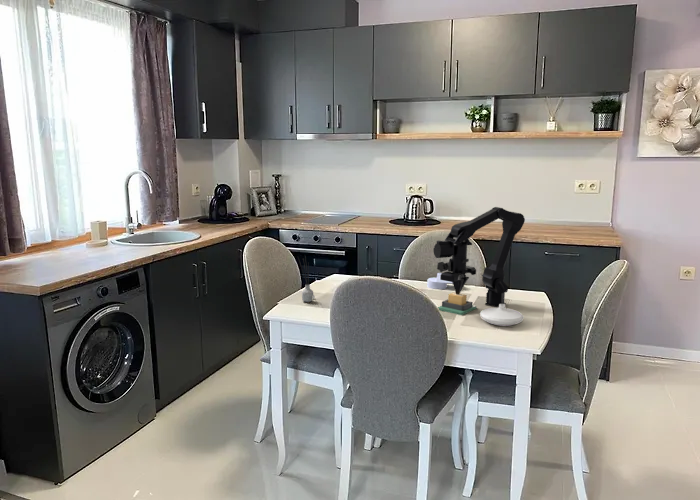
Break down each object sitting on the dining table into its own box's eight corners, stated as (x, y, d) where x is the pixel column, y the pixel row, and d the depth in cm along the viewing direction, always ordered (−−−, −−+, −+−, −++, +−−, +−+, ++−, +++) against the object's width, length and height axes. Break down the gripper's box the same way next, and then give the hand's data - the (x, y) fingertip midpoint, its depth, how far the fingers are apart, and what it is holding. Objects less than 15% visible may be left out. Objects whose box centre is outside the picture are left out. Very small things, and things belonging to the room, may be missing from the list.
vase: (481, 328, 201) (482, 309, 199) (477, 315, 216) (478, 297, 215) (526, 330, 198) (527, 311, 197) (519, 317, 214) (520, 299, 212)
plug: (466, 307, 223) (466, 294, 222) (461, 309, 220) (461, 296, 219) (452, 304, 227) (453, 291, 226) (448, 306, 224) (448, 293, 223)
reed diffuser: (310, 305, 228) (309, 257, 224) (294, 303, 230) (293, 256, 226) (317, 298, 238) (316, 252, 234) (302, 297, 239) (301, 252, 236)
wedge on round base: (456, 285, 260) (428, 283, 264) (456, 271, 259) (429, 270, 262) (454, 290, 252) (425, 288, 255) (455, 276, 250) (426, 274, 254)
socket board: (476, 308, 224) (476, 301, 224) (461, 315, 215) (462, 307, 215) (452, 303, 231) (452, 296, 231) (437, 309, 222) (437, 302, 222)
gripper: (453, 250, 231) (451, 286, 234) (429, 257, 217) (428, 295, 220) (477, 253, 224) (475, 291, 227) (454, 261, 210) (452, 300, 213)
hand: (457, 294), depth 222 cm, fingers closed, pressing on plug
